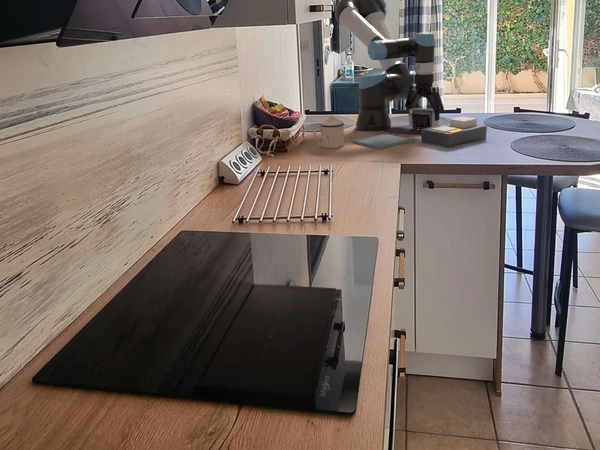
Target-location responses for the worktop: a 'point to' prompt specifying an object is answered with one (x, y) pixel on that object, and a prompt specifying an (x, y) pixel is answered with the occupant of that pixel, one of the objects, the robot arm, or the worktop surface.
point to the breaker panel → (453, 135)
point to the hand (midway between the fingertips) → (423, 126)
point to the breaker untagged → (463, 122)
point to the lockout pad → (382, 141)
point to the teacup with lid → (331, 133)
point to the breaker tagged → (444, 129)
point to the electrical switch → (421, 118)
